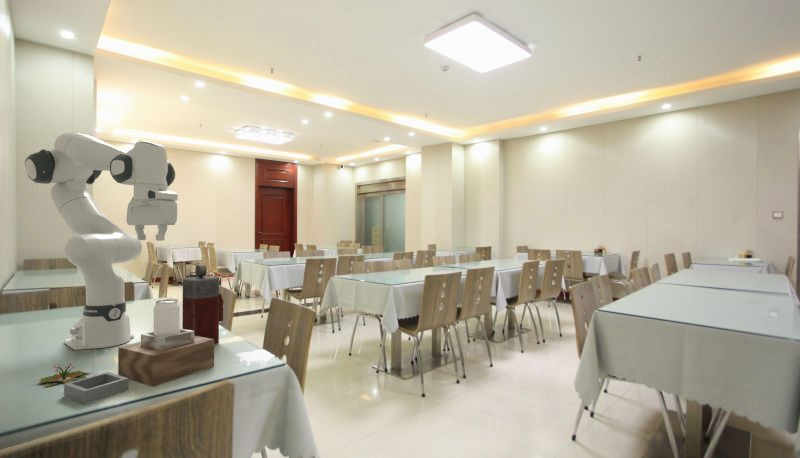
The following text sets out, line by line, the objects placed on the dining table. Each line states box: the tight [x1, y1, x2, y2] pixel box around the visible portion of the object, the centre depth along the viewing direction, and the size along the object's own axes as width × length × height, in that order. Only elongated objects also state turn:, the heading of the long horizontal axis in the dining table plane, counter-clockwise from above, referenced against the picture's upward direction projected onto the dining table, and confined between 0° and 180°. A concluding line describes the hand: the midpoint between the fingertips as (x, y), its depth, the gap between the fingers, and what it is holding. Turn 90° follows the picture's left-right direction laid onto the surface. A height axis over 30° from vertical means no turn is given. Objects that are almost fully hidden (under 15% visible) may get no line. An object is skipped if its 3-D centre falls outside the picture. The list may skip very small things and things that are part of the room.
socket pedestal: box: [117, 327, 215, 388], centre depth 116 cm, size 16×18×11 cm
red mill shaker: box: [181, 264, 224, 345], centre depth 146 cm, size 9×11×28 cm
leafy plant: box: [35, 362, 90, 388], centre depth 110 cm, size 12×12×5 cm
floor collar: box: [63, 371, 130, 405], centre depth 101 cm, size 10×10×3 cm
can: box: [153, 298, 181, 337], centre depth 117 cm, size 6×6×12 cm
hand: (150, 240), depth 124 cm, fingers open, 8 cm apart
